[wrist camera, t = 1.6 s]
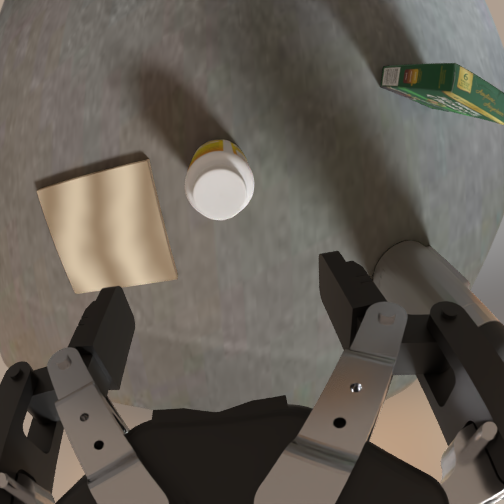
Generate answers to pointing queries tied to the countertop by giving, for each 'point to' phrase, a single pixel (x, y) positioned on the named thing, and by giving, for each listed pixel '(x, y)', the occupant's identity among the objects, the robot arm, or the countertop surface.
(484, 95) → the coffee box
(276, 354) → the countertop surface
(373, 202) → the countertop surface
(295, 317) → the countertop surface
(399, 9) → the countertop surface
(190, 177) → the supplement bottle
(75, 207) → the oak board
